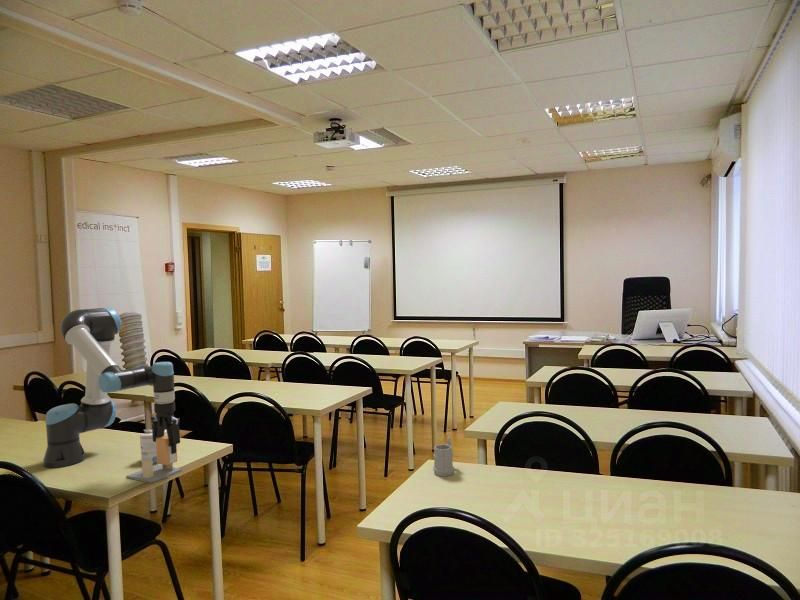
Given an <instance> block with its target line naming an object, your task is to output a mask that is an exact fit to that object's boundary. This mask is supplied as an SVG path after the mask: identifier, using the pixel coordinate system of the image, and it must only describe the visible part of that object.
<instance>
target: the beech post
mask: <svg viewBox="0 0 800 600" xmlns="http://www.w3.org/2000/svg"><path fill="white" fill-rule="evenodd" d="M173 464H174V463H172V464H169V465H162V467H163V470H166V471H168V470H171V469H173V467H174V466H173Z"/></svg>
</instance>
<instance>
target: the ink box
mask: <svg viewBox="0 0 800 600" xmlns="http://www.w3.org/2000/svg"><path fill="white" fill-rule="evenodd" d="M143 432H144V433H142V434H140V435H139V441H140V443H139V444H140V445H139V446H140V455H141V457H140V458H141V463H142V462H143V461H146V460H153V464H154V463H156V464H157V452H156V442H153V434H152V428H151V429H150V428H149V429H143ZM165 435H167V430H166V429H165V432H164V436H165ZM156 438H157V437H156Z"/></svg>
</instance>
